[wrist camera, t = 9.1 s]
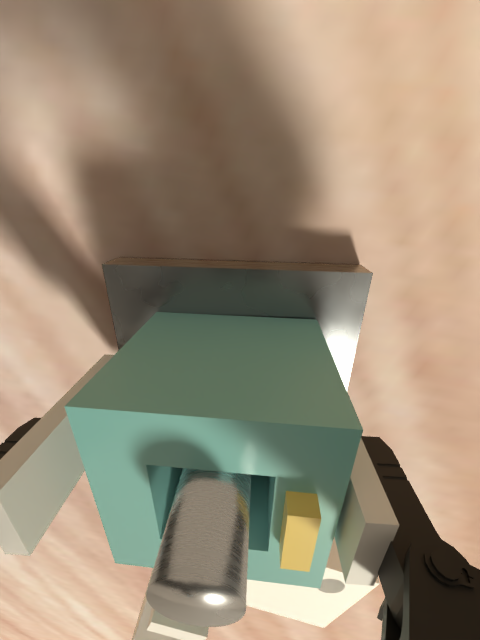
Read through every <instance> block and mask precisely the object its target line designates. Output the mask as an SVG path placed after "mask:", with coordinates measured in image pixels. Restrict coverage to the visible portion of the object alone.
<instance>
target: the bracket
mask: <svg viewBox="0 0 480 640" xmlns="http://www.w3.org/2000/svg"><path fill="white" fill-rule="evenodd" d="M152 572H153V570H152ZM151 575H152V573H151ZM150 578H151V577H150ZM149 582H150V580H149ZM379 584H380V583H379V580H378V577H377V579H376V582H375V584H374V586H369V585H356V584H345V580H344V576H343V572H342V567H341V563H340V559H339V554H338V550H337V546H336V541H335V537H334V539H333V543H332V546H331V550H330V554H329V557H328V561H327V565H326V569H325V572H324V576H323V580H322V583H321V587H320V589H319V588H311V587H303V586H295V585H287V584H279V583H271V582H263V581H255V580H247V593H246V606H249V607H253V608H256V609H260V610H263V611H267V612H270V613H274V614H277V615H281V616H284V617H288V618H291V619H295V620H298V621H302V622H305V623H309V624H312V625H316V626H319V627H323V628H324V627H325V626H327V625H328V624H329V623H330V622H332V621H333V620H334V619H336V618H337V617H338V616H339V615H341V614H342V613H343V612H344V611H346V610H347V609H348V608H350V607H351V606H352V605H353V604H355V603H356V602H357V601H358V600H360V599H361V598H362V597H364V596H365V595H366V594H367V593H369V592H370V591H371V590H372V589H374V588H375V587H376V586H378V585H379ZM148 585H149V583H148ZM147 589H148V587H147ZM146 592H147V590H146ZM208 628H209V627H200V626H192V625H187V624H183V623H180V622H177V621H174V620H171V619H169V618H167V617H165V616H163V615H161V614H160V613H158V612H157V611H155V610H154V609H153V608H152V607H151V606H150V604H149V603H148V601H147V599H146V594H145V597H144V600H143V604H142V607H141V610H140V614H139V617H138V621H137V624H136V627H135V631H134V634H133V638H132V640H206V638H207V636H208Z"/></svg>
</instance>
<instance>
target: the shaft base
mask: <svg viewBox="0 0 480 640" xmlns="http://www.w3.org/2000/svg"><path fill="white" fill-rule="evenodd" d="M102 267H103V272H104V277H105V282H106V287H107V293H108V298H109V303H110V308H111V313H112V318H113V323H114V328H115V333H116V338H117V343H118V348H119V350H120V349H121V348H122V347H123V346H124V345H125V344H126V343H127V342H128V341H129V340H130V339H131V338H132V337H133V336H134V335H135V333H136V332H137V331H138V330H139V329H140V328H141V327H142V326H143V325H144V324H145V323H146V322H147V321H148V320H149V319H150V318H151V317H152V316H153V315H154V314H155V313H156V312H170V313H190V314H211V315H231V316H252V317H272V318H293V319H313V320H317V321H318V323H319V325H320V328H321V330H322V333H323V335H324V337H325V340H326V342H327V345H328V347H329V349H330V352H331V354H332V357H333V359H334V361H335V364H336V366H337V369H338V371H339V373H340V376H341V378H342V381H343V383H344V385H345V388H346V390H347V388H348V383H349V379H350V374H351V370H352V365H353V361H354V356H355V352H356V347H357V342H358V338H359V333H360V329H361V324H362V320H363V315H364V311H365V306H366V302H367V297H368V293H369V288H370V284H371V279H372V275H373V273H372V272H370V271H369V270H367V269H366V268H365V267H363V266H362V265H357V264H324V263H292V262H259V261H226V260H194V259H161V258H128V257H119V258H116V259H114V260H111V261H109V262H106V263H104V264H102ZM250 495H251V474H240V473H230V472H219V471H208V470H198V469H187V468H183V470H182V473H181V477H180V480H179V484H178V487H177V490H176V494H175V497H174V501H173V504H172V507H171V511H170V514H169V517H168V521H167V524H166V528H165V531H164V534H163V538H162V541H161V545H160V548H159V551H158V555H157V558H156V561H155V565H154V568H153V572H152V575H151V578H150V582H149V585H148V589H147V592H146V599H147V601H148V603H149V604H150V606H151V607H152V608H153V609H154V610H155V611H157V612H158V613H160V614H161V615H163V616H165V617H167V618H169V619H171V620H174V621H177V622H180V623H183V624H187V625H192V626H200V627H219V626H225V625H229V624H232V623H235V622H237V621H239V620H240V619H241V618H242V617H243V616H244V614H245V611H246V593H247V569H248V544H249V520H250Z"/></svg>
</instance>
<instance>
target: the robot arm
mask: <svg viewBox="0 0 480 640" xmlns="http://www.w3.org/2000/svg"><path fill="white" fill-rule="evenodd" d="M113 356H114V355H104V356H103V357H102V358H101V359H100V360H99V361H98V362H97V363H96V364H95V365H94V366H93V367H92V368H91V369H90V370H89V371H88V372H87V373H86V374H85V375H84V376H83V377H82V378H81V379H80V380H79V381H78V382H77V383H76V384H75V385H74V386H73V387H72V388H71V389H70V390H69V391H68V392H67V393H66V394H65V395H64V396H63V397H62V398H61V399H60V400H59V401H58V402H57V403H56V404H55V405H54V406H53V407H52V408H51V409H50V410H49V411H48V412H47V413H46V414H45V415H44V416H43V417H42V418H33V419H32V420H30V421H28V422H27V423H25V424H24V425H22V426H20V427H19V428H17V429H16V430H15V431H14V432H13V433H12V434H11V435H10V436H9V437H8V438H7V439H6V440H5V442H4V443H2V444H1V445H0V547H1V548H2V550H3V551H4V553H5V554H14V555H25V556H30V555H31V553H32V552H33V550H34V549H35V547H36V546H37V544H38V543H39V541H40V539H41V538H42V536H43V535H44V533H45V532H46V530H47V528H48V527H49V525H50V524H51V522H52V521H53V519H54V518H55V516H56V514H57V513H58V511H59V510H60V508H61V507H62V505H63V504H64V502H65V500H66V499H67V497H68V496H69V494H70V493H71V491H72V490H73V488H74V486H75V485H76V483H77V482H78V480H79V479H80V477H81V476H82V474H83V472H84V471H85V468H84V465H83V462H82V459H81V456H80V453H79V450H78V447H77V444H76V441H75V438H74V435H73V432H72V428H71V425H70V422H69V419H68V416H67V413H66V410H65V407H64V406H65V405H66V404H67V403H68V402H69V401H70V400H71V399H72V398H73V397H74V396H75V395H76V394H77V393H78V392H79V391H80V390H81V389H82V388H83V387H84V386H85V385H86V384H87V383H88V382H89V381H90V380H91V378H92V377H93V376H94V375H95V374H96V373H97V372H98V371H99V370H100V369H101V368H102V367H103V366H104V365H105V364H106V363H107V362H108V361H109V360H110V359H111V358H112V357H113ZM334 537H335V541H336V546H337V550H338V554H339V559H340V563H341V567H342V572H343V576H344V580H345V584H356V585H369V586H374V584H375V582H376V579H377V577H378V575H379V578H380V581H381V584H382V587H383V591H384V594H385V599H384V601H383V603H382V605H381V607H380V610H379V613H378V617H377V618H378V619H380V620H381V621H382V619H383V622H382V637H381V640H480V570H479V569H477V568H475V567H473V566H471V565H469V563H468V562H467V560H466V559H465V558H464V557H463V556H462V555H461V554H460V553H459V552H458V551H457V550H456V549H455V548H454V547H452V546H451V545H449V544H448V543H446V542H445V541H443V540H442V539H441V538H440V537H439V535H438V534H437V532H436V530H435V529H434V527H433V525H432V523H431V521H430V519H429V518H428V516H427V514H426V512H425V510H424V508H423V506H422V505H421V503H420V501H419V499H418V497H417V495H416V493H415V492H414V490H413V488H412V486H411V484H410V482H409V481H408V480H407V477H406V475H405V473H404V471H403V469H402V468H400V464H399V462H398V460H397V458H396V456H395V455H394V453H393V451H392V449H391V448H390V447H389V446H388V445H387V444H386V443H385V442H384V441H383V440H382V439H381V438H380V437H366V436H361V439H360V443H359V447H358V450H357V454H356V458H355V461H354V465H353V469H352V473H351V476H350V480H349V484H348V487H347V491H346V495H345V498H344V502H343V506H342V509H341V513H340V517H339V521H338V524H337V528H336V532H335V535H334Z"/></svg>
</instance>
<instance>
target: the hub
mask: <svg viewBox="0 0 480 640" xmlns="http://www.w3.org/2000/svg"><path fill="white" fill-rule="evenodd" d="M64 407H65V410H66V413H67V416H68V419H69V422H70V425H71V428H72V432H73V435H74V438H75V441H76V444H77V447H78V450H79V453H80V456H81V459H82V462H83V465H84V468H85V471H86V475H87V478H88V481H89V484H90V487H91V490H92V493H93V496H94V499H95V502H96V505H97V508H98V511H99V514H100V517H101V521H102V524H103V527H104V530H105V533H106V536H107V539H108V542H109V545H110V548H111V551H112V554H113V557H114V560H115V563H119V564H127V565H135V566H143V567H151V568H154V565H155V561H156V558H157V555H158V551H159V548H160V545H161V541H162V538H163V534H164V531H165V528H166V524H167V521H168V517H169V514H170V511H171V507H172V504H173V501H174V497H175V494H176V490H177V487H178V484H179V480H180V477H181V473H182V470H183V468H187V469H198V470H208V471H219V472H230V473H240V474H251V495H250V520H249V544H248V569H247V580H255V581H263V582H271V583H279V584H287V585H295V586H303V587H311V588H319V589H320V587H321V583H322V580H323V576H324V572H325V569H326V565H327V561H328V557H329V554H330V550H331V546H332V543H333V539H334V535H335V532H336V528H337V524H338V521H339V517H340V513H341V509H342V506H343V502H344V498H345V495H346V491H347V487H348V484H349V480H350V476H351V473H352V469H353V465H354V461H355V458H356V454H357V450H358V447H359V443H360V439H361V436H362V432H363V429H362V426H361V424H360V421H359V419H358V417H357V414H356V412H355V409H354V407H353V405H352V402H351V400H350V397H349V395H348V393H347V390H346V388H345V385H344V383H343V381H342V378H341V376H340V373H339V371H338V369H337V366H336V364H335V361H334V359H333V357H332V354H331V352H330V349H329V347H328V345H327V342H326V340H325V337H324V335H323V333H322V330H321V328H320V325H319V323H318V321H317V320H313V319H293V318H272V317H252V316H231V315H211V314H190V313H170V312H156V313H155V314H154V315H153V316H152V317H151V318H150V319H149V320H148V321H147V322H146V323H145V324H144V325H143V326H142V327H141V328H140V329H139V330H138V331H137V332H136V333H135V335H134V336H133V337H132V338H131V339H130V340H129V341H128V342H127V343H126V344H125V345H124V346H123V347H122V348H121V349H120V350H119V351H118V352H117V353H116V354H115V355H114V356H113V357H112V358H111V359H110V360H109V361H108V362H107V363H106V364H105V365H104V366H103V367H102V368H101V369H100V370H99V371H98V372H97V373H96V374H95V375H94V376H93V377H92V378H91V380H90V381H89V382H88V383H87V384H86V385H85V386H84V387H83V388H82V389H81V390H80V391H79V392H78V393H77V394H76V395H75V396H74V397H73V398H72V399H71V400H70V401H69V402H68V403H67V404H66V405H65V406H64Z"/></svg>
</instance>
